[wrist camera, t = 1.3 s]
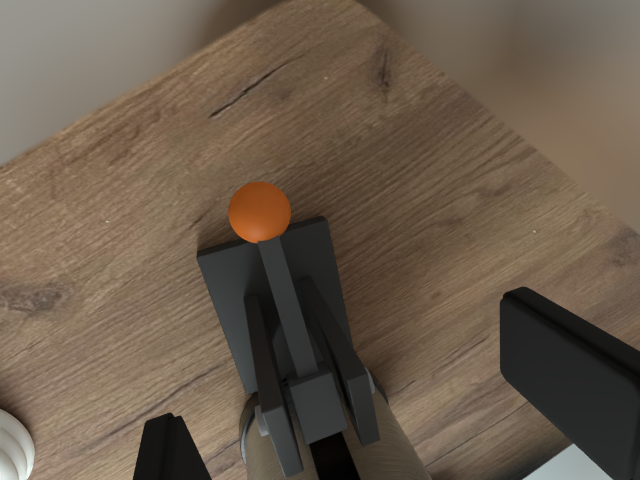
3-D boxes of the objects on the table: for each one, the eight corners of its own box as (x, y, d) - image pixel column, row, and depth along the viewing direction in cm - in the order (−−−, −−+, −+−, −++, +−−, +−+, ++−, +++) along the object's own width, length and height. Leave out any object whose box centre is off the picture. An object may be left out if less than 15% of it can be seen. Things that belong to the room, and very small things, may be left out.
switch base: (197, 250, 25) (183, 359, 14) (322, 215, 26) (398, 288, 15) (245, 384, 29) (264, 544, 18) (350, 347, 31) (423, 474, 20)
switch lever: (224, 197, 20) (217, 183, 17) (279, 183, 21) (282, 167, 18) (290, 425, 20) (296, 454, 17) (345, 404, 20) (361, 428, 17)
